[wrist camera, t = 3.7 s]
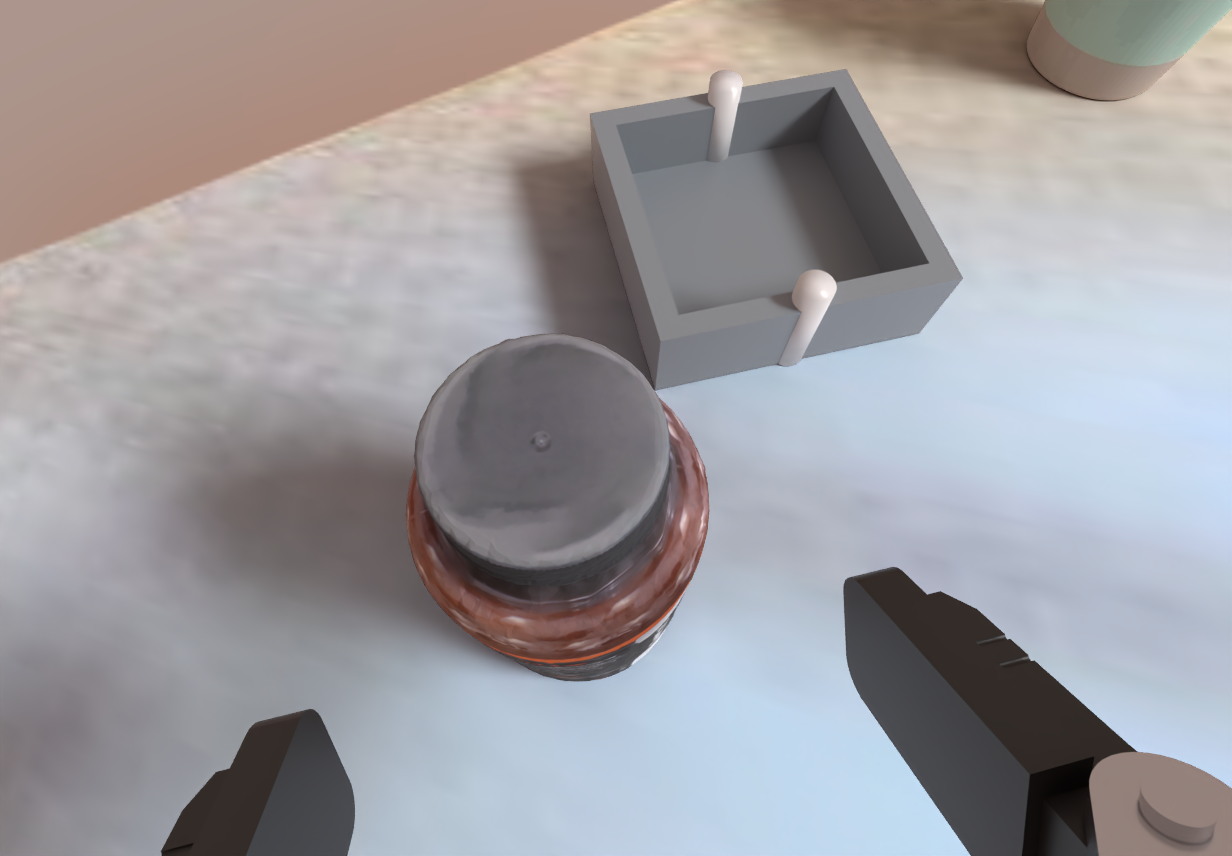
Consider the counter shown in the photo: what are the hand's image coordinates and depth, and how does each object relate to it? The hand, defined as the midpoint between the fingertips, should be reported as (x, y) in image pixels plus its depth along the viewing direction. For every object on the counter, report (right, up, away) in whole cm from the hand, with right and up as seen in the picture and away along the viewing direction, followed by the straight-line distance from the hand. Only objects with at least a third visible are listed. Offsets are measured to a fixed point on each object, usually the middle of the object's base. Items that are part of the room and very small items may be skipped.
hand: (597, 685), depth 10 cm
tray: (+5, +11, +16) cm, 20 cm away
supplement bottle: (-1, -1, +11) cm, 11 cm away
